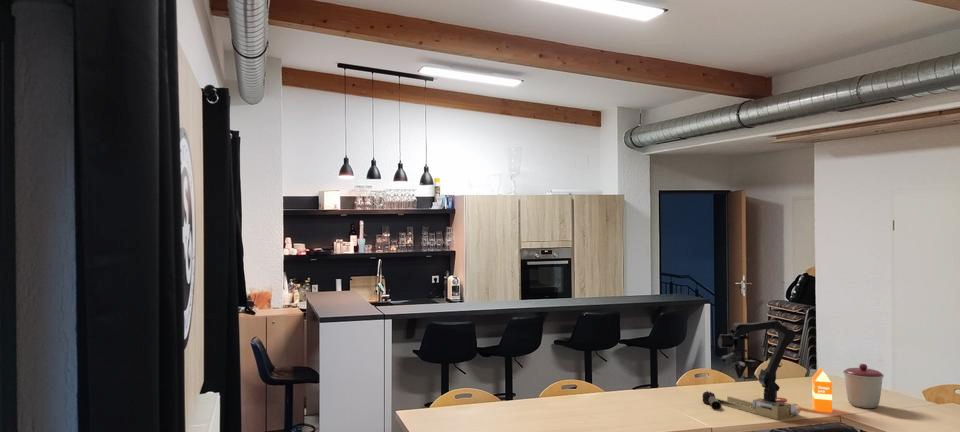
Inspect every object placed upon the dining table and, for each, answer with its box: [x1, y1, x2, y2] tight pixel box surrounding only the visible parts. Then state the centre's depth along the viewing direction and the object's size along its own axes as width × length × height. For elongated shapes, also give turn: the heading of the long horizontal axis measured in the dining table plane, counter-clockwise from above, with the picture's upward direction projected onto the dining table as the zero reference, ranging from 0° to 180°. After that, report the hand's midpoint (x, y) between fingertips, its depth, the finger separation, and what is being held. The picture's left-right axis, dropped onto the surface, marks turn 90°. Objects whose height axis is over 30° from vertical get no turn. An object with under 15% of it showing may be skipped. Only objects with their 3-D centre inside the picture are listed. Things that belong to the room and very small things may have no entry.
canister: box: [842, 363, 885, 409], centre depth 342 cm, size 18×18×21 cm
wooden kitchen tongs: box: [716, 396, 801, 421], centre depth 335 cm, size 16×36×9 cm, turn 31°
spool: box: [752, 397, 778, 410], centre depth 328 cm, size 6×10×6 cm, turn 35°
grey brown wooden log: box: [702, 390, 722, 410], centre depth 344 cm, size 18×7×6 cm, turn 172°
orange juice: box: [811, 366, 833, 413], centre depth 335 cm, size 8×9×20 cm
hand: (739, 377), depth 350 cm, fingers closed
